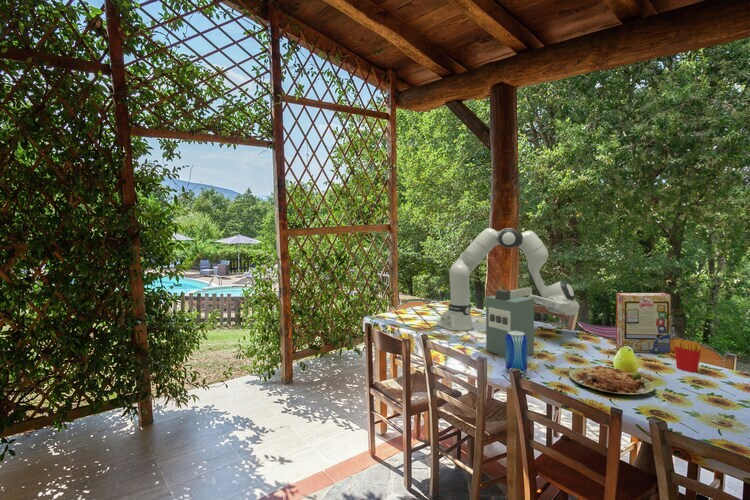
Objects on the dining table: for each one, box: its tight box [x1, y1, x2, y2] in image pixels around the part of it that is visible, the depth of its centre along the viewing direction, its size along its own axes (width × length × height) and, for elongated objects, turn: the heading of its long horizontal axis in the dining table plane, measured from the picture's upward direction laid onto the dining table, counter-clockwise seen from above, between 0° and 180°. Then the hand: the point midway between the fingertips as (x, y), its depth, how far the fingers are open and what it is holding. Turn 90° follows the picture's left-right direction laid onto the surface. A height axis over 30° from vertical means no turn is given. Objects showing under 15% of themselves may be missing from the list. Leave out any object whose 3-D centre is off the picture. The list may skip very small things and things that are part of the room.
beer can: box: [504, 331, 528, 375], centre depth 157 cm, size 8×8×16 cm
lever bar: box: [494, 287, 533, 301], centre depth 181 cm, size 5×22×4 cm, turn 124°
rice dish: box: [568, 365, 656, 396], centre depth 144 cm, size 28×28×5 cm
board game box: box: [615, 292, 672, 354], centre depth 177 cm, size 20×6×27 cm, turn 80°
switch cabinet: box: [485, 295, 535, 358], centre depth 179 cm, size 16×16×26 cm
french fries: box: [673, 338, 702, 374], centre depth 154 cm, size 8×4×12 cm, turn 33°
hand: (536, 300), depth 192 cm, fingers open, 8 cm apart
